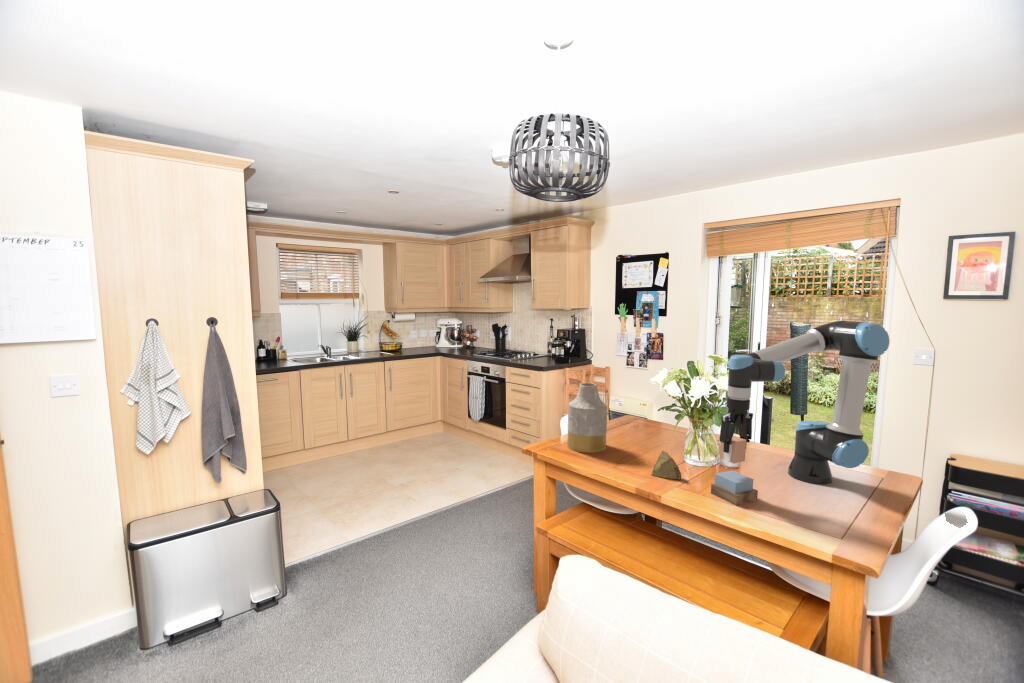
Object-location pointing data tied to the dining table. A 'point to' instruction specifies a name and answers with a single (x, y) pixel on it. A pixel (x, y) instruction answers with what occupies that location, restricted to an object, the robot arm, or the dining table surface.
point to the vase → (587, 421)
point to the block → (735, 450)
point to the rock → (666, 467)
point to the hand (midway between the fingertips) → (734, 459)
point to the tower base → (734, 495)
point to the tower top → (734, 481)
